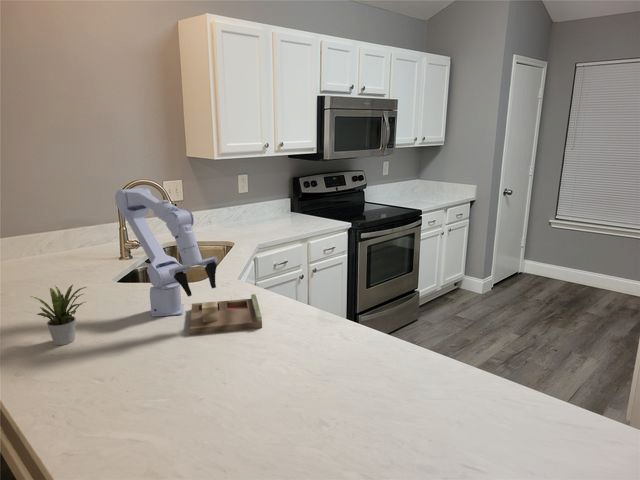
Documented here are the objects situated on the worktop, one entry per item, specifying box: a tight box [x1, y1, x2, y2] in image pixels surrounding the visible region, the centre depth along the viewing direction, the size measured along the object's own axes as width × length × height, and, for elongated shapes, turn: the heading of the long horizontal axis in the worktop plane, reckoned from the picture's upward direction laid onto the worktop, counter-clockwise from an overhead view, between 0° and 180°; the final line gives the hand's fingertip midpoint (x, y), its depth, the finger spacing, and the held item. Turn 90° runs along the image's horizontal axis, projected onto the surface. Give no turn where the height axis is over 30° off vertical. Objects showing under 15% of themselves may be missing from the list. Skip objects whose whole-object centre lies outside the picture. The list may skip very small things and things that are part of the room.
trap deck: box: [188, 293, 263, 336], centre depth 143 cm, size 21×20×4 cm
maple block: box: [201, 301, 218, 322], centre depth 138 cm, size 4×4×4 cm
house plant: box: [29, 284, 87, 346], centre depth 127 cm, size 14×14×16 cm
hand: (202, 292), depth 137 cm, fingers open, 7 cm apart
